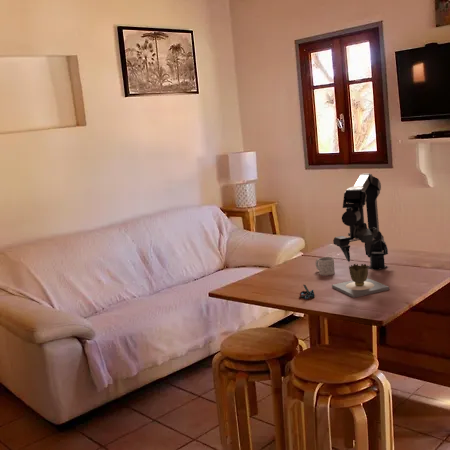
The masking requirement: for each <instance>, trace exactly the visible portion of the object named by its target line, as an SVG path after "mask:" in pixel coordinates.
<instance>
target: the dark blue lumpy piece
mask: <svg viewBox="0 0 450 450" xmlns="http://www.w3.org/2000/svg"><path fill="white" fill-rule="evenodd" d="M302 286H303V287H304V289H305V290H302V291H301V292H299V296H298V300H300V301H308V300H312V299H313V298H315V297H316V295H315V291H314V289H311V290H310V291H309V288H308V287H307V285H306V284H302Z"/></svg>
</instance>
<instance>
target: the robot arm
mask: <svg viewBox="0 0 450 450" xmlns="http://www.w3.org/2000/svg"><path fill="white" fill-rule="evenodd" d="M381 190H382V184H381V181H380V180H379V178H377V176H376V177H375V176H373V174H372V173H360V174H359V175H358V178H357V180H356V182H355V184H354V185H352V186H349V187H348V188H346V190H345V191H344V193H343V202H342V209H345V210H346V211H344V212H343V214H342V215H341V222H342V223H343V225H345V226H347V227H349V232H348V234H347V236H344V235H340V236H335V237H334V238H333V241H332V242H333V245H335V246H337V247H339V249H340V250H341V251H342V253H343V255H344V257H345V258H346V262H351V257H350V256H351V255H350V254H351V253H350V248H351V245H350V244H351V243H352V242H356V241H360V242H361V243H363V244H364V250H365V255H366V256H367V258H369V263H370V265H368V269H371V270H374V271H379V270H381V269H386V268H388V267H389V266H387V265H385V256H386V255H389V250H388V246H387V243H386V241H385V238H384V235H383V234H382V232H381V231H380V225H379V212H378V200H377V199H378V197H379V196H380V194H381ZM365 205H366V216H367V217H366V218H367V223H366V222H365V216H364V215H365V214H364V207H365Z"/></svg>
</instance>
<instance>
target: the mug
mask: <svg viewBox="0 0 450 450" xmlns="http://www.w3.org/2000/svg"><path fill="white" fill-rule="evenodd" d="M315 267H316V270H318V273H319V274H318V275H320V276H322V277H323V276H324V277H325V276H328V275H329V276H333V275H335V273H336V271H335V270H336V269H335V260H334V257H332V256H331V257H330V256H323V257H319V258H318V259H316V260H315Z"/></svg>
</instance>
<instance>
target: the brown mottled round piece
mask: <svg viewBox="0 0 450 450" xmlns="http://www.w3.org/2000/svg"><path fill="white" fill-rule="evenodd" d="M368 266H369V265H368V264H366V263H361V264H360V265H359V264H358V263H354V264H353V265H352V264H351V265H349V266H348V270H349V274H350V279H351V281H352V280H353V281H354V282H355V285H356V286H363V285H364V281H366V279H367V278H368V275H369V272H368V271H369V267H368Z"/></svg>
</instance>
